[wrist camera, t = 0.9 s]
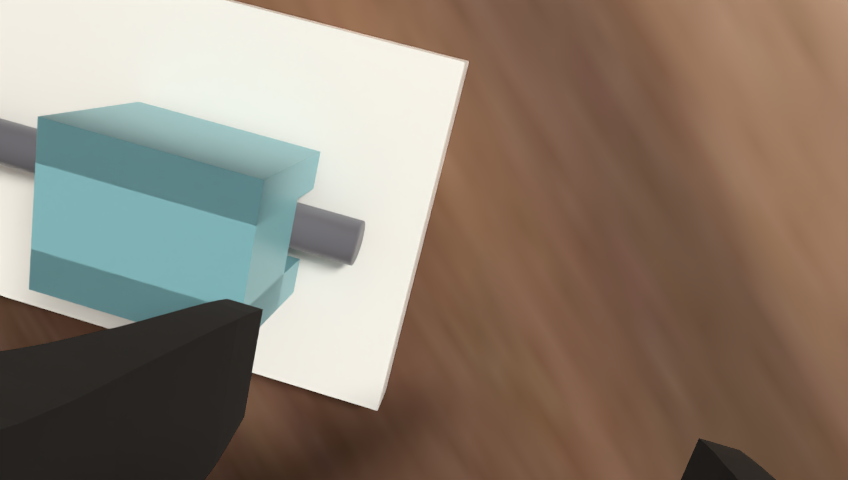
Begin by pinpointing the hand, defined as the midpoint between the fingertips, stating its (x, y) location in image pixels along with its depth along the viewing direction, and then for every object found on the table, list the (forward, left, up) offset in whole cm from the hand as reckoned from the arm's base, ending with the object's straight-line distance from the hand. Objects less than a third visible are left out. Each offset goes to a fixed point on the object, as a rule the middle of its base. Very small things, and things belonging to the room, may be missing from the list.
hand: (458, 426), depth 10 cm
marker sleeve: (0, +8, -7) cm, 10 cm away
